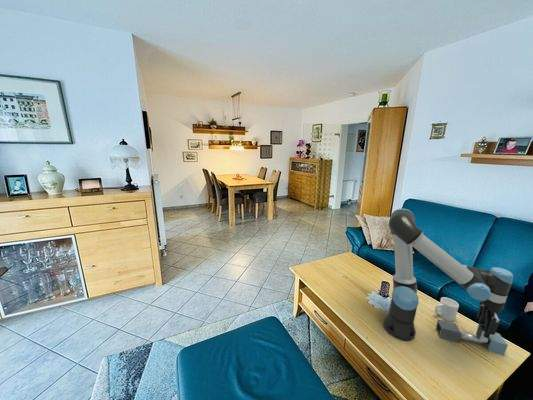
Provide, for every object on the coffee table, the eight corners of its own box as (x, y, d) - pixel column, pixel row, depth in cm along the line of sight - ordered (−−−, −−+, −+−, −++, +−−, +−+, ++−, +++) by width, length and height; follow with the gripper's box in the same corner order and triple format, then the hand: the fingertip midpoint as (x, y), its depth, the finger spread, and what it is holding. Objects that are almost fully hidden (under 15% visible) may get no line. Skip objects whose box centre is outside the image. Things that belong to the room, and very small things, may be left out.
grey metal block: (439, 338, 116) (442, 328, 114) (435, 328, 121) (437, 319, 120) (458, 342, 113) (461, 332, 111) (453, 333, 119) (455, 323, 117)
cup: (458, 321, 127) (462, 306, 124) (439, 322, 126) (443, 307, 124) (446, 311, 135) (450, 297, 132) (428, 311, 134) (431, 297, 132)
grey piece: (456, 338, 114) (460, 323, 112) (453, 333, 117) (457, 319, 115) (492, 348, 109) (498, 332, 107) (489, 342, 112) (494, 327, 110)
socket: (488, 351, 109) (491, 340, 107) (480, 339, 115) (484, 329, 113) (504, 355, 107) (507, 344, 105) (495, 343, 113) (498, 333, 111)
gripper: (515, 312, 97) (500, 354, 103) (493, 290, 112) (481, 328, 118) (493, 307, 100) (480, 349, 105) (475, 287, 114) (464, 324, 120)
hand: (481, 338), depth 112 cm, fingers closed on grey piece, 3 cm apart
